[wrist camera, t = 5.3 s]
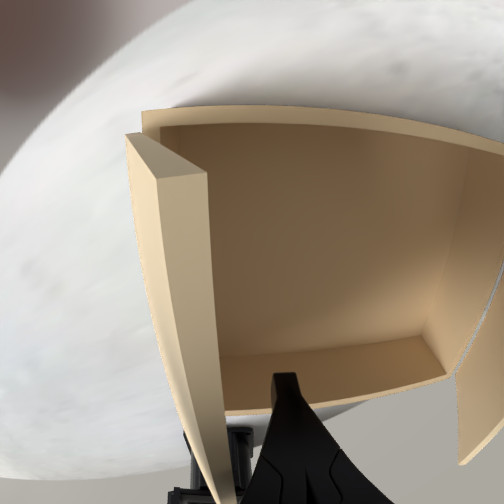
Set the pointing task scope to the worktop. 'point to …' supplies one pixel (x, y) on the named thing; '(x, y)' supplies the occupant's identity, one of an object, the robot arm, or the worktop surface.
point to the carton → (340, 245)
